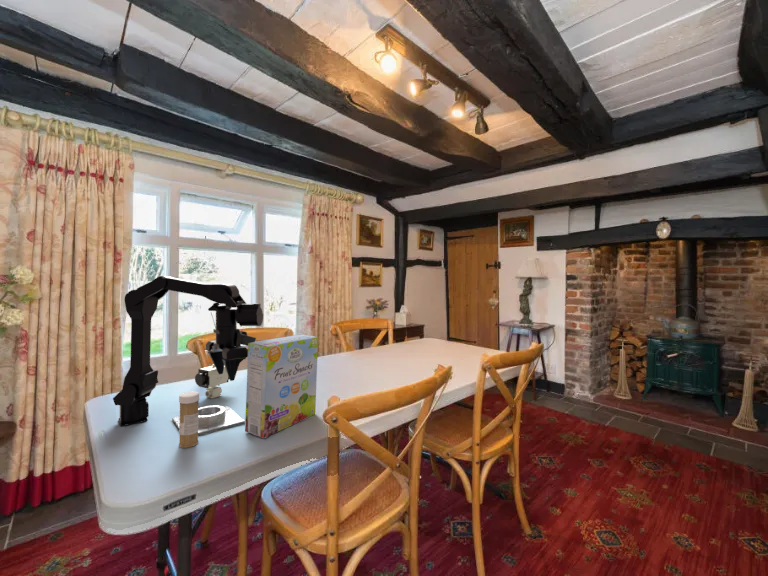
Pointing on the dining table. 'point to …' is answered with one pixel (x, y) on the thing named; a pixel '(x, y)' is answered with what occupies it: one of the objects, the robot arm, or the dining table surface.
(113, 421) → the dining table surface
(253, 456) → the dining table surface
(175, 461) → the dining table surface
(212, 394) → the pneumatic valve
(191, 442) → the sprinkles bottle
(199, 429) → the duct flange
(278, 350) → the snack box
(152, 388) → the robot arm
